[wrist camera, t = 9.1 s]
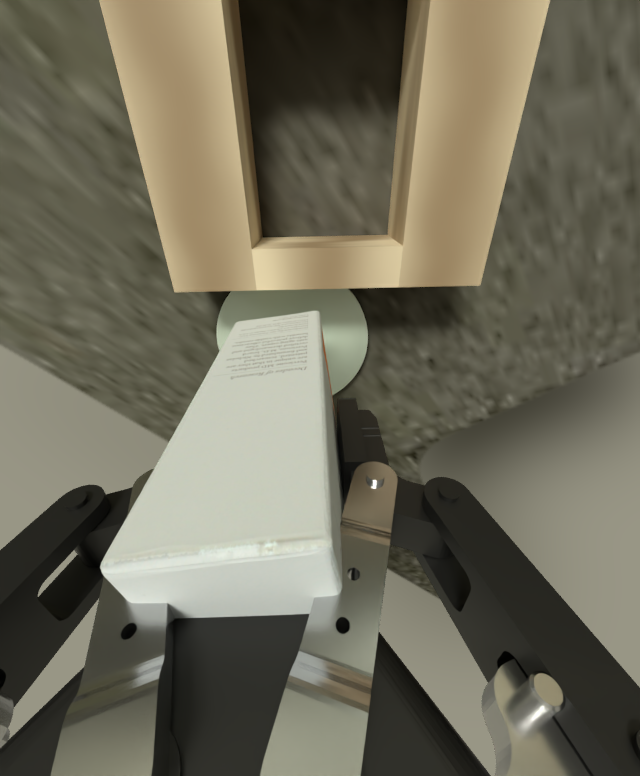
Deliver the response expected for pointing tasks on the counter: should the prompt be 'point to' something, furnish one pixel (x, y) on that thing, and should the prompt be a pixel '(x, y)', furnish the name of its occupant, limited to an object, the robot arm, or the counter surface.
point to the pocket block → (411, 159)
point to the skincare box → (243, 486)
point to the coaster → (335, 306)
